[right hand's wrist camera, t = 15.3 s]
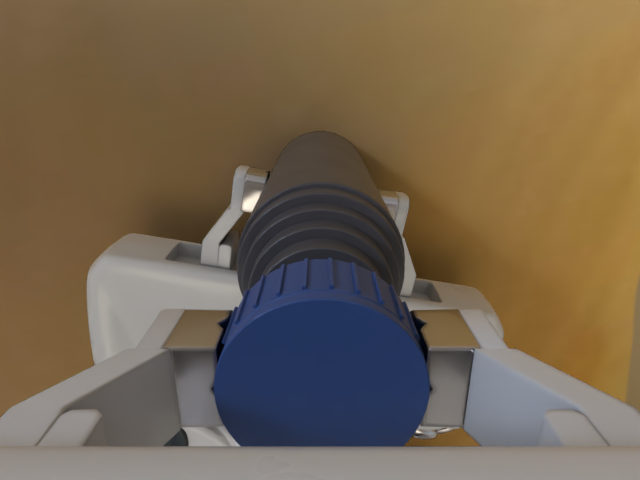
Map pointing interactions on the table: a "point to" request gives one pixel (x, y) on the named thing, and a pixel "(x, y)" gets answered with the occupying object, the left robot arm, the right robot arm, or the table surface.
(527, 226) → the table surface
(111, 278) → the left robot arm
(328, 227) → the bottle
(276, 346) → the cap
